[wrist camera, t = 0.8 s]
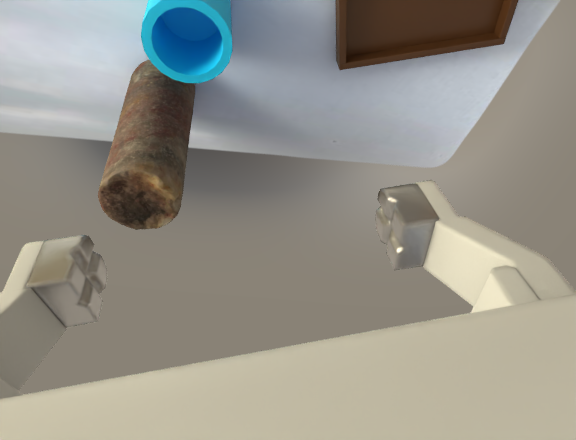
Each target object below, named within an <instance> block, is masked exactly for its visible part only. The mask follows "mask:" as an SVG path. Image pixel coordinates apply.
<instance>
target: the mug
mask: <svg viewBox="0 0 576 440" xmlns="http://www.w3.org/2000/svg"><path fill="white" fill-rule="evenodd" d="M141 38H142V43H143V47H144V51H145V52H146V54H147V56H148V58H149V59H150V61H151V63H152V64H153V65H154V66H155V67H156V68H157V69H158V70H159V71H160V72H161V73H163V74H165V75H167V76H168V77H170V78H172V79H174V80H177V81H181V82H184V83H202V82H205V81H208V80H212V79H213V78H215V77H216V76H218V75H219V74H220V73H222V72H223V70H224V69H225V67H226V66H227V65H228V63H229V61H230V57H231V54H232V26H231V2H230V0H149V1H148V4H147V8H146V12H145V15H144V19H143V23H142V32H141Z"/></svg>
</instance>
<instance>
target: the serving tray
mask: <svg viewBox="0 0 576 440" xmlns="http://www.w3.org/2000/svg"><path fill="white" fill-rule="evenodd" d="M517 3H518V0H336V61H337V64H338V67H339V70H343V69H349V68H356V67H362V66H368V65H375V64H381V63H387V62H393V61H400V60H406V59H412V58H419V57H425V56H431V55H437V54H444V53H450V52H456V51H463V50H469V49H475V48H482V47H488V46H494V45H500V44H504V42H505V39H506V35H507V32H508V29H509V26H510V23H511V20H512V17H513V15H514V12H515V9H516V6H517Z"/></svg>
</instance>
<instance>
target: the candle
mask: <svg viewBox="0 0 576 440" xmlns="http://www.w3.org/2000/svg"><path fill="white" fill-rule="evenodd" d="M194 96H195V85H194V83H184V82H181V81H177V80H174V79H172V78H170V77H168V76H167V75H165V74H163V73H161V72H160V71H159V70H158V69H157V68H156V67H155V66H154V65H153V64H152V63H151V61H150V60H147V61H145V62H143V63H141V64H140V65H139V66H138V67H137V68H136V69H135V71H134V72H133V74H132V77H131V80H130V83H129V87H128V90H127V93H126V96H125V100H124V104H123V108H122V111H121V115H120V119H119V122H118V126H117V129H116V133H115V136H114V140H113V143H112V147H111V149H110V153H109V157H108V160H107V164H106V167H105V170H104V174H103V178H102V181H101V183H100V187H99V192H98V198H99V201H100V204H101V207H102V209H103V211H104V212H105V213H106V214H107V215H108V217H110V218H111V219H112V220H114V221H116V222H118V223H120V224H122V225H125V226H127V227H130V228H133V229H136V230H137V229H151V228H160V227H162V226H164V225H166V224H168V223H170V222H171V221H172V220H173V218H175V217H176V216H177V214H178V212H179V210H180V207H181V200H182V194H183V187H184V176H185V168H186V161H187V152H188V144H189V135H190V128H191V120H192V114H193V105H194Z"/></svg>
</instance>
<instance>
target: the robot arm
mask: <svg viewBox="0 0 576 440" xmlns="http://www.w3.org/2000/svg"><path fill="white" fill-rule="evenodd" d="M378 201H379V203H380V205H381V206H380V207H379V208H378V209H377V211H376V218H375V221H376V229H377V232H378V236H379V238H380V240H381V242H383V243H384V244H386V245H387V252H386V253H387V256H388V258H389V260H390V262H391V264H392V266H393V268H394V270H400V269H406V268H413V267H421V266H423V268H424V269H426V270H427V271H428V272H430V273H431V274H432V275H433V276H435V277H436V278H437V279H439V280H440V281H441V282H442V283H444V284H445V285H446V286H448V287H449V288H450V289H452V290H453V291H454V292H456V293H457V294H459V296H461V297H462V298H463V299H465V300H466V301H467V302H468V303H470V304H471V305H472V306H474V307H473V309H472V311H471V313H468V314H462V315H457V316H451V317H446V318H440V319H435V320H429V321H424V322H419V323H413V324H408V325H402V326H397V327H391V328H386V329H380V330H375V331H369V332H364V333H359V334H353V335H348V336H342V337H337V338H331V339H326V340H320V341H315V342H309V343H304V344H299V345H293V346H288V347H282V348H277V349H271V350H266V351H261V352H255V353H249V354H244V355H239V356H233V357H228V358H222V359H216V360H211V361H205V362H200V363H194V364H189V365H183V366H178V367H173V368H167V369H162V370H156V371H151V372H145V373H140V374H134V375H129V376H123V377H118V378H112V379H107V380H102V381H96V382H90V383H85V384H79V385H74V386H69V387H64V388H58V389H53V390H47V391H42V392H36V393H31V394H25V395H23V394H22V393H20V392H19V390H20V389H21V387H22V386H23V385H24V384H25V382H26V381H27V380H28V378H29V377H30V376H31V374H32V373H33V372H34V371H35V369H36V368H37V367H38V366H39V364H40V363H41V362H42V360H43V359H44V358H45V356H46V355H47V354H48V353H49V351H50V350H51V349H52V348H53V346H54V345H55V344H56V342H57V341H58V340H59V339H60V337H61V336H62V335H63V333H64V332H65V331H66V328H67V327H71V326H77V325H82V324H87V323H92V322H97V321H98V320H99V316H100V311H101V306H102V302H103V300H102V299H101V297H100V296H99V294H100V293H101V292H102V290H104V289H105V287H106V282H107V268H106V265H105V262H104V260H103V258H102V257H101V255H100V254H98V253H96V252H94V251H93V247H94V244H93V242H92V240H91V239H90V237H89V236H86V235H80V236H73V237H66V238H58V239H50V240H46V241H38V242H31V243H27V244H26V245H24V246H23V247H22V250H21V252H20V254H19V256H18V259H17V261H16V263H15V265H14V268H13V270H12V272H11V274H10V276H9V279H8V281H7V283H6V285H5V288H4V290H3V292H1V293H0V440H576V291H575V290H574V288H573V287H572V286H571V285H570V284H569V283H568V282H567V280H566V279H565V278H564V277H563V275H562V274H561V273H560V272H559V271H558V269H557V268H556V267H555V266H554V265H553V264H552V262H551V261H550V260H549V259H548V258H547V257H545V256H544V255H542V254H540V253H538V252H536V251H534V250H532V249H530V248H527V247H526V246H524V245H522V244H519V243H518V242H516V241H514V240H511V239H509V238H507V237H505V236H503V235H501V234H499V233H497V232H495V231H493V230H491V229H489V228H487V227H485V226H483V225H481V224H479V223H477V222H475V221H473V220H471V219H469V218H467V217H460V216H459V215H458V214H457V212H456V211H455V209H454V208H453V207H452V205H451V204H450V202H449V201H448V200H447V198H446V197H445V195H444V194H443V193H442V191H441V190H440V188H439V187H438V186H437V184H436V183H435V182H434V181H432V180H429V181H423V182H417V183H414V184H406V185H400V186H394V187H388V188H382V189H380V191H379V193H378Z"/></svg>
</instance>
